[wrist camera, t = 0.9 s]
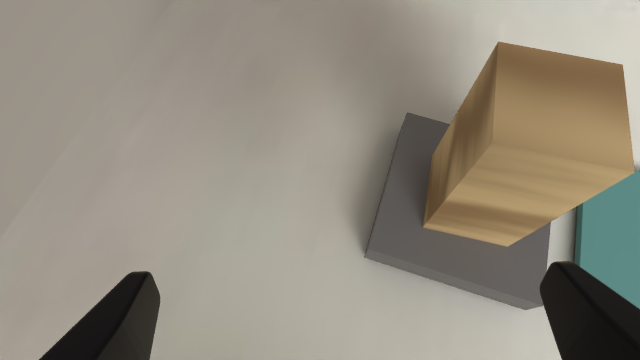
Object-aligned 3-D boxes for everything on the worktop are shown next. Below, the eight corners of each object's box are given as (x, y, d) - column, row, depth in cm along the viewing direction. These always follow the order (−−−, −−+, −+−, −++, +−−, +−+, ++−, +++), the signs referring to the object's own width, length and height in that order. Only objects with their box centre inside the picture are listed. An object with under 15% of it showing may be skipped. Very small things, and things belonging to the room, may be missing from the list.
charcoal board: (525, 309, 23) (543, 305, 22) (364, 257, 25) (368, 249, 23) (540, 167, 27) (556, 154, 26) (401, 128, 29) (407, 112, 27)
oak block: (507, 246, 23) (634, 172, 14) (422, 227, 23) (492, 142, 14) (510, 171, 25) (622, 64, 16) (432, 155, 25) (498, 41, 16)
